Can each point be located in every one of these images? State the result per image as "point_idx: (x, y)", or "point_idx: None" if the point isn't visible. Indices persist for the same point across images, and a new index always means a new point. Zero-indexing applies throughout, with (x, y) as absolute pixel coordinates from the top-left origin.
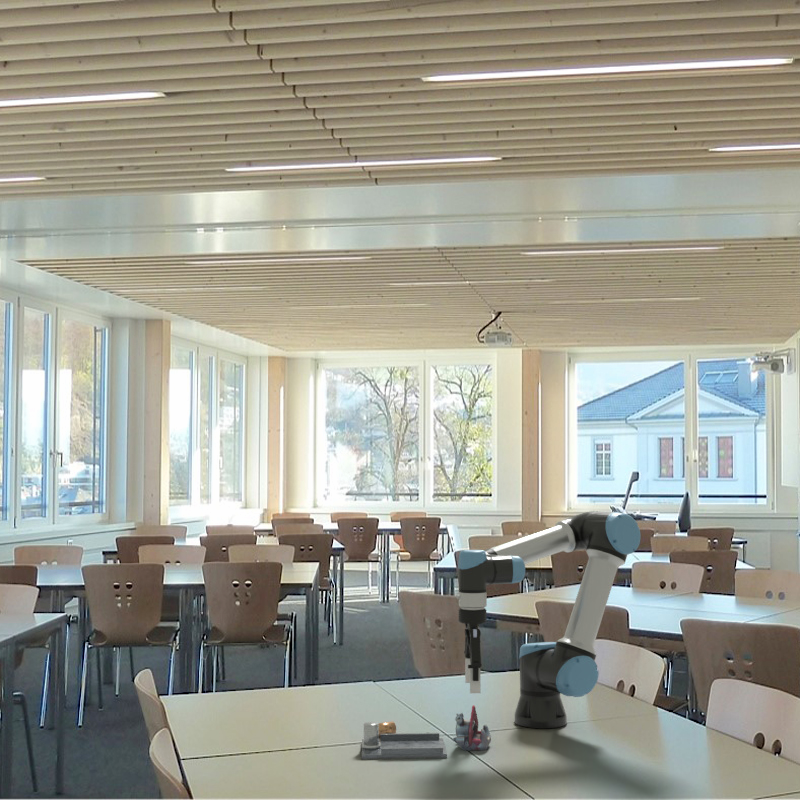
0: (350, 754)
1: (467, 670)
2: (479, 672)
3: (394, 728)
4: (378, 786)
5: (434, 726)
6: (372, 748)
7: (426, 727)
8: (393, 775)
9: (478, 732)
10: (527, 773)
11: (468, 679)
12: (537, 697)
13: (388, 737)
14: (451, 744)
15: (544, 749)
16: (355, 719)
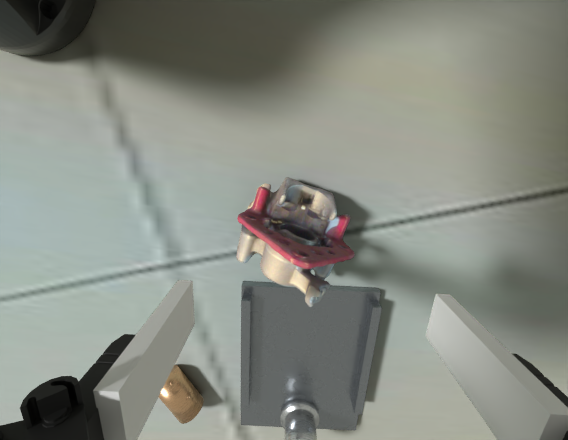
0: (317, 435)
1: (169, 365)
2: (540, 388)
3: (178, 377)
4: None
5: (96, 282)
6: (319, 415)
7: (107, 299)
8: None
9: (262, 210)
10: (557, 129)
11: (187, 322)
12: None
13: (249, 390)
14: None
15: (347, 24)
16: None
